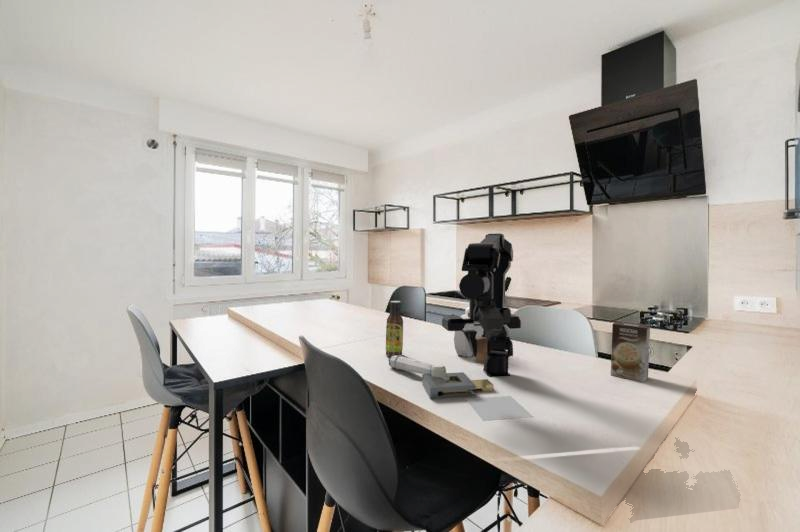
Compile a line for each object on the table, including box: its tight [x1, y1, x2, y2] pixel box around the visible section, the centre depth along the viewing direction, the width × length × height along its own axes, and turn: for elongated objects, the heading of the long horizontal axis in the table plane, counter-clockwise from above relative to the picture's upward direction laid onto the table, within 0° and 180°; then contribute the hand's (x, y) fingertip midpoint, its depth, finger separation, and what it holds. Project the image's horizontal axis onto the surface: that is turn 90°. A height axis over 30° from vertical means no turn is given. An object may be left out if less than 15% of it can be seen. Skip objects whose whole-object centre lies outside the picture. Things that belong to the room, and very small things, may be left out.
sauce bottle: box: [385, 300, 404, 358], centre depth 131 cm, size 6×6×20 cm
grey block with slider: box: [421, 371, 494, 400], centre depth 97 cm, size 18×10×3 cm, turn 98°
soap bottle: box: [453, 301, 484, 358], centre depth 134 cm, size 16×5×20 cm, turn 137°
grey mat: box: [465, 395, 534, 422], centre depth 86 cm, size 12×12×1 cm
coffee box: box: [610, 320, 651, 383], centre depth 109 cm, size 9×6×16 cm
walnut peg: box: [474, 337, 487, 365], centre depth 90 cm, size 3×3×6 cm
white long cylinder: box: [388, 354, 450, 383], centre depth 108 cm, size 5×7×25 cm
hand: (480, 356), depth 90 cm, fingers closed on walnut peg, 3 cm apart
